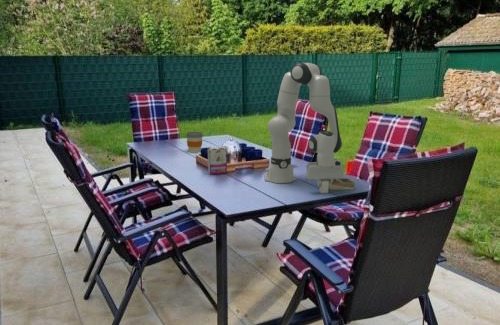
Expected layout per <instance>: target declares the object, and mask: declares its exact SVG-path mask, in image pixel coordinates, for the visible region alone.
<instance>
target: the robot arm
mask: <svg viewBox="0 0 500 325" xmlns="http://www.w3.org/2000/svg"><path fill="white" fill-rule="evenodd" d="M302 85H304V86H306V85H307V87H308V89H309V90H308V91H309V95H308V96H309V107H310V109H311V110H313V111H314V112H315V113H317V114H321V115H323V116H324V117H326V119H327V120H328V126H329V127H328V128H329V130H321V131H319V132H318V134H316V135H312V136H311V137H310V138H309V139H308V146H307V147H308V148H309V151H311V152H312V153H317V155H316V161H313V162H312V161H310V162H308V163H307V164H306V165H305V166H306V173H305V178H306V179H308V180H315V183H316V186H317V188H320V187H321V184H320V179H330V181H329V184H328V187H329V186H331V183H332V182H333V179H340V178H343V177H344V167H343V166H342V165H343V162H342V161H341V160H339V159H338V158H335V155H334V153H335V154H336V153H338V152H339V151H340V149H341V148H342V146H343V144H342V142H343V141H342V138H341V133H340V127H339V119H338V114H337V109H336V107H335V106H334V105H333V104H332V101H331V87H330V81H329V78H328V77H327V76H326V75H323V70H322V68H321V67H320V65H318V64H316V63H311V62H297V63H295V64H294V65H293V66H291V69H290V71H288V72H286V73H285V74H284V75H283V78H282V80H281V83H280V87H279V92H278V97H277V102H276V105H277V116H273V117H272V118H271V119H270V120H269V121H268V123H267V129H268V132H269V134H270V140H271V156H270V164H269V165H268V167H266V168H265V173H264V174H263V176H264V181H265V182H269V183H270V182H271V183H275V184H288V183H291V182H293V181H296V180H297V178H296V177H294V176H295V175H294V166H293V165H292V157H291V156H292V153H291V149H292V145H291V144H292V143H291V142H290V136H289V133H290V132H291V131H293V130H294V128H295V126H296V122H297V121H296V107H297V103H298V98H299V94H300V88H301V86H302Z"/></svg>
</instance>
